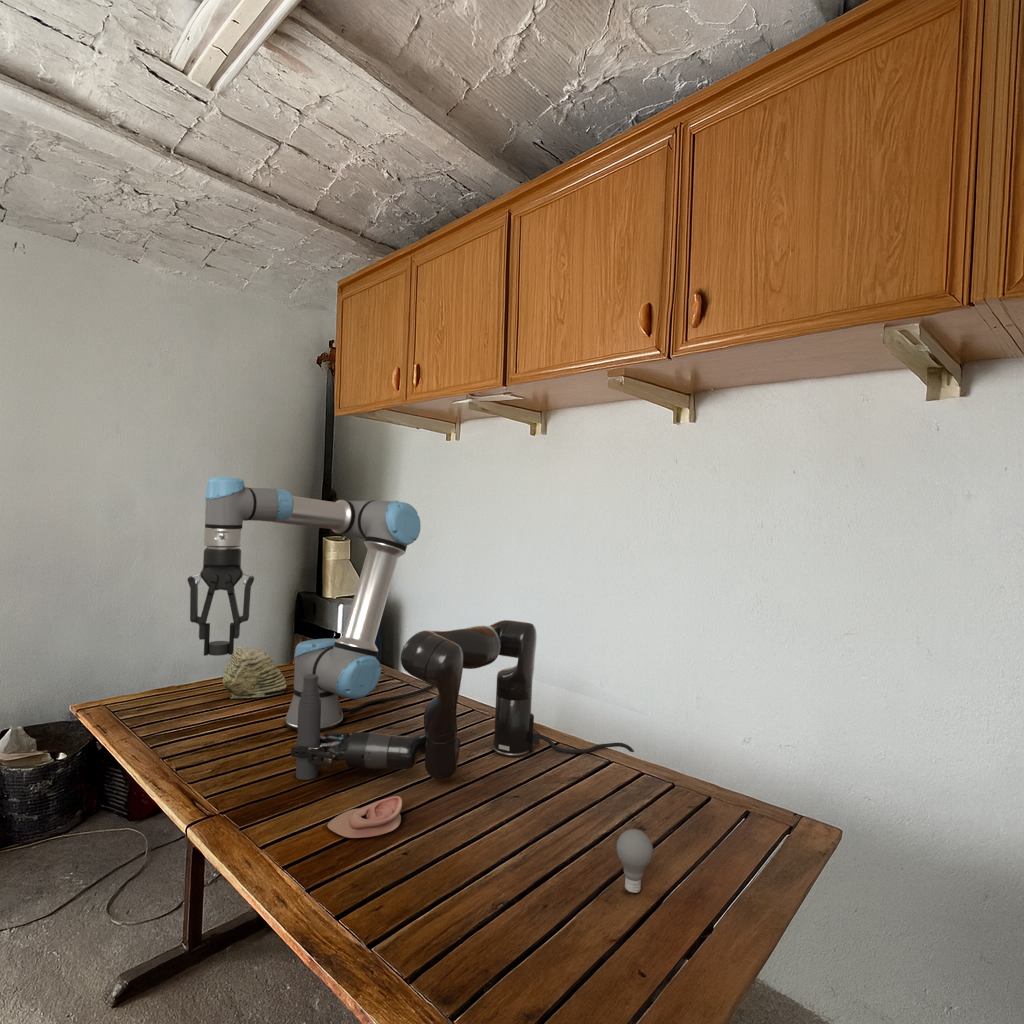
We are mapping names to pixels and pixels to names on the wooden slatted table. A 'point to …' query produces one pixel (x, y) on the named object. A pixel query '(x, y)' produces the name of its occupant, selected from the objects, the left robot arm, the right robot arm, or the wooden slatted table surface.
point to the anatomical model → (369, 819)
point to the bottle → (308, 726)
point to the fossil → (252, 674)
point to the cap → (218, 648)
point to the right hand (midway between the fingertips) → (296, 746)
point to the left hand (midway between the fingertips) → (218, 653)
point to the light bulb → (634, 857)
